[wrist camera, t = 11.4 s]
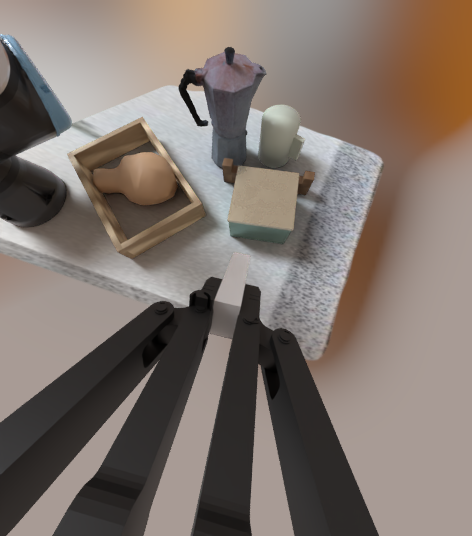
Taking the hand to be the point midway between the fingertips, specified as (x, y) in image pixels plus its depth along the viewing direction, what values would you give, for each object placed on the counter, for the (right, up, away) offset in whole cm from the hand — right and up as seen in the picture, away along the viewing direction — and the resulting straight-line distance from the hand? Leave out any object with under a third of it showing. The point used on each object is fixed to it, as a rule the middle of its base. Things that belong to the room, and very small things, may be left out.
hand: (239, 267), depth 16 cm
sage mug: (+10, +28, +31) cm, 43 cm away
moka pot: (-2, +28, +32) cm, 43 cm away
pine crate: (-23, +19, +30) cm, 42 cm away
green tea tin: (+5, +12, +27) cm, 30 cm away
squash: (-23, +19, +30) cm, 42 cm away
